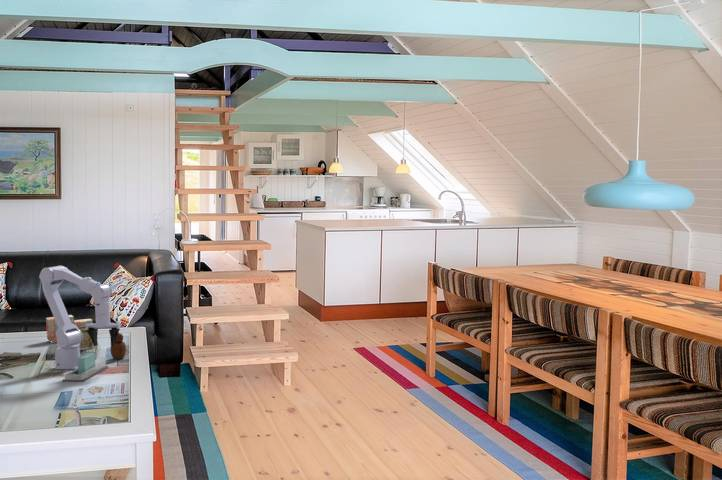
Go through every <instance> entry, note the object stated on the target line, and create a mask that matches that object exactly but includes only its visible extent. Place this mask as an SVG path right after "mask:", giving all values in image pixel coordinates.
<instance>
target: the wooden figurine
mask: <svg viewBox="0 0 722 480" xmlns="http://www.w3.org/2000/svg"><path fill="white" fill-rule="evenodd" d="M126 346H127V345H126V343H125V342H124V335H123V333H120V332H118V334H117V337H116V341H115V345H114V346H111V345H110V354H111V357H112V359H114V360H121V359H124V358H125V355H126V353H127V347H126Z"/></svg>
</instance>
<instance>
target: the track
mask: <svg viewBox="0 0 722 480" xmlns="http://www.w3.org/2000/svg"><path fill="white" fill-rule="evenodd" d="M106 369H109V366H108V365H107V361H102V362H100V363H98V364H95V366H94V367H92V368H90V369H89V370H87V371H85V372H83V373H81V374H78V368H77V369H72V371H70V372H68V373H66V374H64V378H63V379H62V382H68V383H69V382H70V383H71V382H74V383H76V382H81V383H84V382H86V381H88V380H90V379H91V378H93V377H94V376H96V375H98V374H100V373H102V372H103V371H105V370H106Z"/></svg>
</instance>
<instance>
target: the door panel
mask: <svg viewBox="0 0 722 480" xmlns="http://www.w3.org/2000/svg"><path fill="white" fill-rule="evenodd" d="M77 361H78V374H81V373H83V372H85V371H87V370H89V369H90V368H92V367H94V366H96V353H94V352H88V353H85V354H83V355H80V357H79V358H77Z"/></svg>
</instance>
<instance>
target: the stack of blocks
mask: <svg viewBox="0 0 722 480" xmlns="http://www.w3.org/2000/svg"><path fill="white" fill-rule="evenodd" d="M68 316H69V318H70V321H71V323H73V324H75V325H76V326H77V327H80V326H86V324H90V323H94V320H93V319H91V318H84V319H75V316H74V315H72V314H68ZM45 319H46V320H45V323H46V324H45V327H46V338H47V339H48V340H49V342H51V341H52V342H57V336H56V334H55V333H56V331H57V330H58V326H57V323H56V321H55V318H54V316H50V317H46V318H45ZM65 333H66V332H65ZM47 339H46V340H47ZM49 342H48V343H49Z"/></svg>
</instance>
